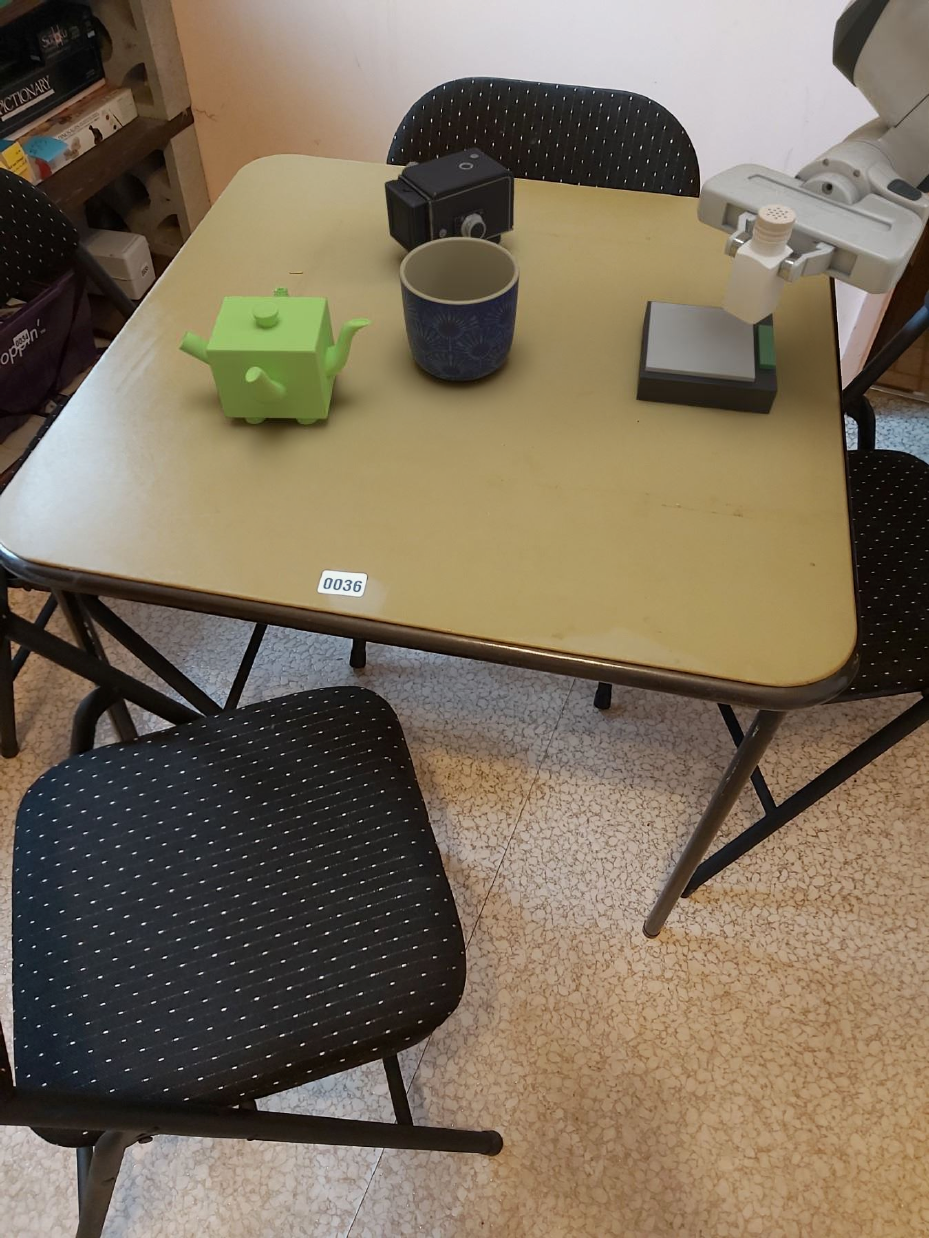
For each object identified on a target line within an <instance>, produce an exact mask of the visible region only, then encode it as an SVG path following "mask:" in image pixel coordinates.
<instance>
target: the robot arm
mask: <svg viewBox="0 0 929 1238" xmlns="http://www.w3.org/2000/svg"><path fill="white" fill-rule="evenodd" d="M832 39H833V40H832V54H831V55H832V57H831V58H832V61H831V62H832V65H833V66H834V67H835V68H836V69H837V70H838V71H839V73H841V75H843V77H845V79H847V80H848V82H849V83H850V84H851V85H852V86H853V87H855V88H856V89H858V91H859V92H860V93H861V94H862V95H863V97H864V98H865V99H866V101H867V102H868V103H869V105H870V106H871V107H872V108H873V110H874V111H875V112H876V113H877V115H878V116H876V117H875V118H873V119H871V120H868V121H867V122H865V123H864V124H862V125H860V126H859V127H858V128H856V129H854V130H853V131H852V132H851V133H850V134H848V135H847V136H846V137H845V138H844V139H843V140H842V141H841V142H838V143H837V144H834V145H833V146H831V147H830V148H828V149H827V150H826V151H824V152H822V154H820V155H819V156H817V157H816V158H815V159H813V160H812V161H810V162H809V163H808V164H806V165H804V167H802V168H801V169H800V170H799V171H798V172H797V173H796V175H794V177H793V176H791V175H787V174H785V173H783V172H779V171H777V170H774V169H772V168H769V167H766V166H763V165H761V164H756V163H742V164H739V165H738V164H737V165H735V166H733V167H730V168H728V169H725V170H723V171H721V172H719V173H717V174H716V175H714V176H712V177H710V178H709V179H707V180H706V181H705V182H704V183H703V185H702V187H701V190H700V192H699V197H698V202H697V206H696V207H697V208H696V216H697V220H698V222H700V223H701V224H704V225H706V226H709V227H711V228H713V229H715V230H719V231H721V232H723V233H726V234H728V235H730V236H729V237H728V239H727V240H726V244H725V248H724V252H723V253H724V255H726V256H728V257H730V258H733V259H735V255H736V252H737V250H738V248H740V247H741V246H742V245H743V244H744V243H746V242H747V241H749V240H751V239H752V236H753V228H754V225H755V220H756V217H757V213H758V211H759V210H760V208H761V207H762V206H766V205H769V204H778V205H783V206H786V207H789V208H790V209H792V210H793V211H794V212H795V215H796V219H795V222H794V225H793V229H792V232H791V235H790V238H789V239H788V241H787V244H786V245H787V246H788V247H790V248H791V249H792V251H793V252H792V253H791V254H789V256H788V257H786V258H784V260H783V261H782V263H781V266H780V268H781V270H780V271H779V272H778V277H780V278H782V279H785V280H786V282H788V283H791V284H792V283H793V284H794V283H795V282H796V281H797V280H798V279H800V278H803V277H813V276H819V275H822V274H823V275H826V276H828V277H830V278H832V279H835V280H838V281H840V282H842V283H845V284H847V285H849V286H852V287H855V288H856V289H859V290H861V291H864V292H866V293H868V294H871V295H883V294H888V293H889V292H890V291H891V290H892V289H893V288H894V287H895V286H896V285H897V283H898V282H899V281H900V280H901V278H902V277H903V274H904V273H905V270H906V268H907V266H908V264H909V261H910V259H911V257H912V256H913V253H914V250H915V249H916V247H917V246H918V243H919V241H920V239H921V236H922V235H923V232H924V230H925V228H926V224H927V222H928V219H929V195H928V194H929V0H849V2H848V3H847V5H846V6H845V8H844V9H843V11H842V12H841V15H840V16H839V17H838V19H837V20H836V23H835V27H834V32H833V38H832Z"/></svg>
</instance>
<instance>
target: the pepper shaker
mask: <svg viewBox="0 0 929 1238" xmlns="http://www.w3.org/2000/svg"><path fill="white" fill-rule="evenodd" d="M795 219H796V215H795V212H794V211H793V210H792V209H790V208H789V207H786V206H783V205H778V204H769V205H766V206H762V207H761V208H760V210H759V211H758V213H757V217H756V220H755V225H754V228H753V236H752V239H751V240H749V241H747V242H746V243H744V244H743V245H742V246H741V247H740V248H738V250H737V252H736V255H735V258H733V259H734V260H733V263H732V268H731V271H730V275H729V278H728V282H727V285H726V290H725V292H724V293H725V294H724V297H723V299H722V304H721V305H722V308H723V309H724V310H725V311H727V312H729V313H730V314H732V315H734V316H736V317H738V318H739V319H741V320H743V321H745V322H747V323H748V324H756V323H757V322H759V321H760V320H762V319H763V318H765V317H766V316H768V315H770V314H771V313H774V312H775V311H776V310H777V309H778V306H779V302H780V300H781V297H782V294H783V291H784V287H785V286H786V282H787V280H785V279H782V278H780V277H778V272H779V271H780V270H781V268H780V266H781V263H782V261H783V260H784V258H786V257H788V256H789V254H791V253H792V252H793V251H792V249H791V248H790V247H788V246H787V245H786V244H787V241H788V239H789V238H790V235H791V232H792V229H793V225H794V222H795Z"/></svg>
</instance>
